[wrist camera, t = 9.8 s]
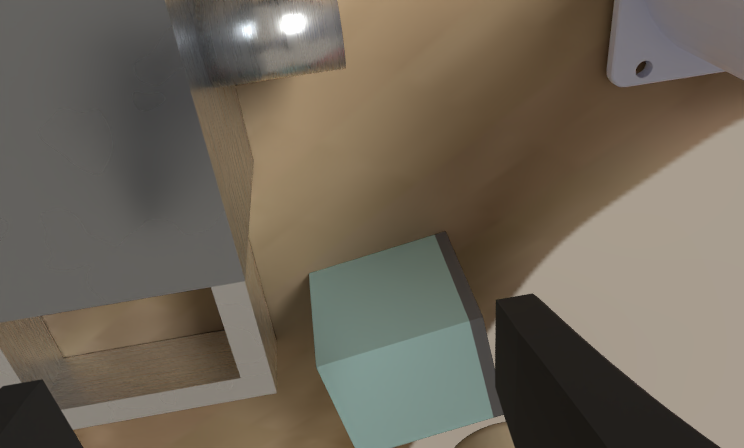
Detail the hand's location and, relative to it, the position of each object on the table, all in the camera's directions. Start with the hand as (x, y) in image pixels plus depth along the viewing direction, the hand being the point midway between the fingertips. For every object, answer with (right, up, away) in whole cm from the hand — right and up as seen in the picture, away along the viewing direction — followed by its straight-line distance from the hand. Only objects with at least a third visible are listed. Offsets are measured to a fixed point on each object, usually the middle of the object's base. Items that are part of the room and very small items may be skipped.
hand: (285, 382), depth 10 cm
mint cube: (0, -2, +11) cm, 11 cm away
